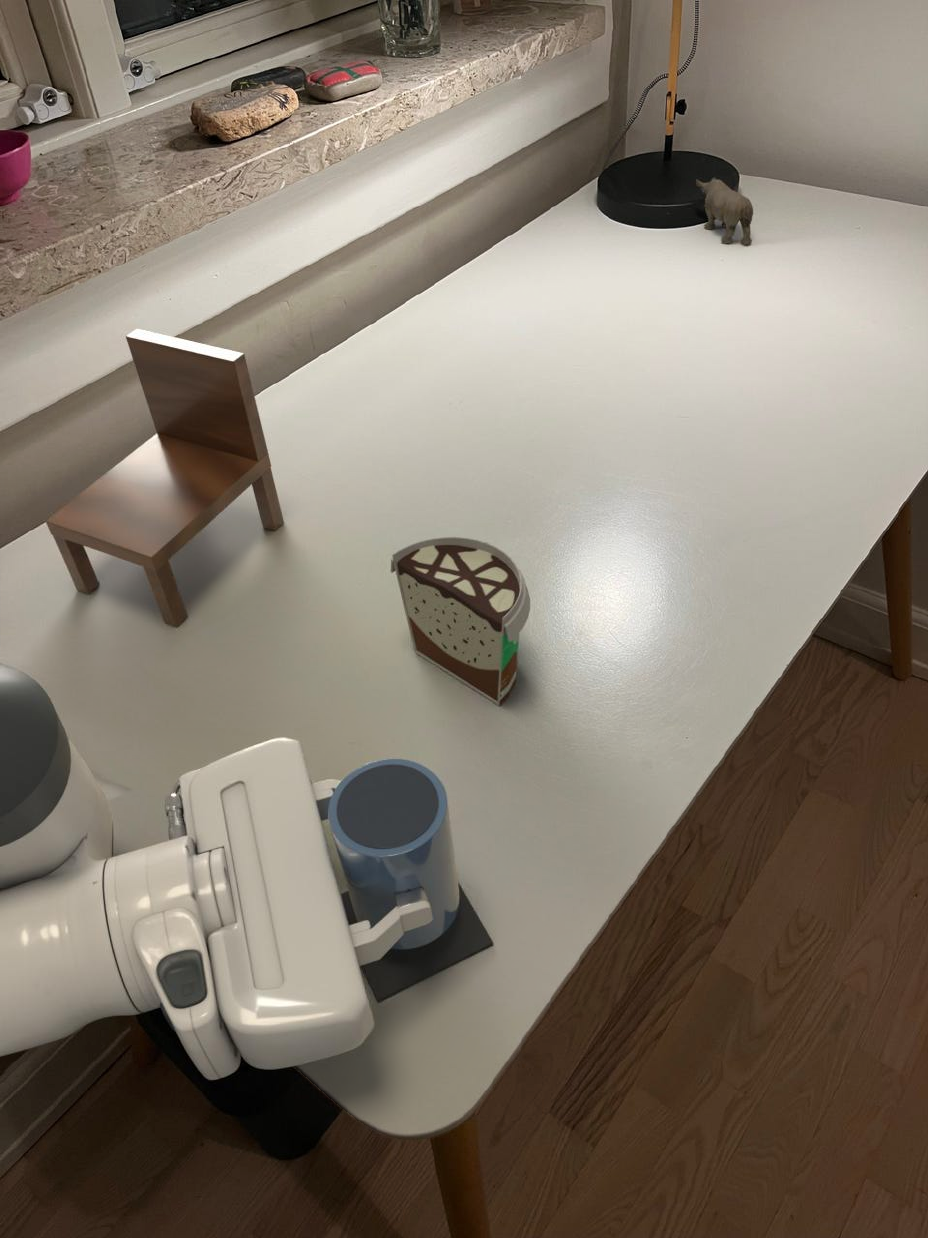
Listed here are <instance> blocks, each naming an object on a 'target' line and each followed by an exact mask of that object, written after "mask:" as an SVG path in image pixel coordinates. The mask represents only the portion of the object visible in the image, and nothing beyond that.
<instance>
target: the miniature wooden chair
mask: <svg viewBox="0 0 928 1238" xmlns="http://www.w3.org/2000/svg"><path fill="white" fill-rule="evenodd" d="M125 340H126V342H127V346H128V348H129V352H130V355H131V358H132V361H133V364H134V367H135V370H136V373H137V376H138V379H139V382H140V385H141V388H142V391H143V394H144V398H145V400H146V401H145V402H146V404H147V408H148V410H149V414H150V416H151V419H152V422H153V426H154V429H155V431H156V433H155V434H154V435H153V436H151V437H150V438H149V439H148V440H146V441H145V442H144V443H143V444H141V445H140V446H139V447H137V448H136V449H135V450H133V451H132V452H131V453H129V454H128V455H127V456H126V457H124V458H123V459H121V461H119V463H117V464H116V465H115V466H113V467H112V468H111V469H110V470H108V471H107V472H105V473H104V474H103V475H102V476H100V477H99V478H98V479H97V480H95V481H94V482H93V483H92V484H90V485H89V486H88V487H87V488H85V489H84V490H83V491H81V492H80V493H79V494H78V495H76V496H75V497H74V498H73V499H71V500H70V501H69V502H67V503H66V504H65V505H64V506H63V507H62V508H60V509H59V510H57V511H56V512H55V513H53V514H52V515H51V516H50V517H49V518H47V519H46V520H45V524H46V526H47V528H48V530H49V533H50V535H52V537H53V539H54V541H55V544H56V546H57V548H58V551H59V553H60V556H61V558H62V560H63V562H64V564H65V566H66V569H67V571H68V573H69V575H70V578H71V580H72V582H73V585H74V586H75V589H76V590H77V591H78V592H81V593H83V594H86V595H90V594H91V593H92V592H93V591H94V590H95V589H97V588H98V587H99V586H100V582H99V579H98V577H97V575H96V572H95V570H94V567H93V565H92V563H91V560H90V558H89V555H88V553H87V551H86V548H89V549H92V550H95V551H98V552H100V553H103V554H105V555H106V554H107V555H109V556H112V557H115V558H118V559H120V560H123V561H127V562H130V563H132V564H135V565H138V566H141V567H143V571H144V573H145V575H146V578H147V580H148V583H149V585H150V589H151V591H152V594H153V596H154V599H155V602H156V604H157V608H158V610H159V612H160V615H161V618H162V621H163V623H164V624H166V625H169V626H172V627H175V628H178V627H179V626H180V625H182V624H183V622H185V621H186V619H188V617H189V616H188V612H187V610H186V606H185V603H184V601H183V598H182V595H181V593H180V590H179V587H178V584H177V581H176V578H175V576H174V573H173V570H172V568H171V564H170V562H169V561H170V560H171V559H172V558H173V557H174V556H175V555H176V554H177V553H178V552H179V551H180V550H181V549H182V548H184V547H185V546H186V545H187V544H188V543H189V542H190V541H192V539H194V538H195V537H196V536H197V535H198V534H199V533H201V532H202V530H203V529H205V528H206V527H207V526H208V525H209V524H210V523H211V522H213V520H214V519H216V518H217V517H218V516H219V515H220V514H221V513H223V511H224V510H225V509H226V508H227V507H228V506H229V505H231V504H232V503H233V502H234V501H235V500H236V499H237V498H238V497H239V496H241V495H242V494H243V493H244V492H245V491H246V490H247V489H248V488H249V487H252V491H253V494H254V495H253V496H254V499H255V502H256V506H257V510H258V515H259V517H260V522H261V525H262V527H263V528H264V529H268V530H271V531H274V532H277V530H278V529H279V528H281V526H282V525H283V524H284V523H285V521H284V517H283V513H282V507H281V504H280V500H279V495H278V491H277V486H276V482H275V479H274V475H273V471H272V463H271V458H270V455H269V454H270V453H269V451H268V446H267V442H266V438H265V433H264V429H263V425H262V421H261V417H260V412H259V409H258V404H257V401H256V400H257V399H256V397H255V393H254V388H253V384H252V379H251V375H250V372H249V368H248V363H247V360H246V355H245V353H244V352H240V351H236V350H231V349H227V348H222V347H218V346H213V345H209V344H205V343H200V342H197V341H191V340H187V339H183V338H178V337H175V336H170V335H166V334H162V333H158V332H153V331H150V330H149V331H148V330H144V329H140V328H135V329H134V330H133V331H131V332H129V333H128V334H127V335H125ZM85 547H86V548H85Z"/></svg>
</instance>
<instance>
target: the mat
mask: <svg viewBox="0 0 928 1238" xmlns="http://www.w3.org/2000/svg"><path fill="white" fill-rule="evenodd" d="M458 886H459V893H460V902H459V908H458V911H457V914H456V916H455V919H454V920H453V922H452V924H451V925H450V926H449V928H448V929H447V930H446V931H445V932H444V933H443V934H442V935H441V936H439V937H438V938H437V939H435V940H434V941H432V942H430V943H428V944H426V945H423V946H420V947H417V948H412V949H392V948H390V949H389V950H388V951H387V952H386V954H385V955H384V956H383V957H382V958H381V959H380V960H377V961H374V962H371V963H367V964H364V965H361V966H360V968H361V970H362V971H363V973H364V975H365V977H366V980H367V982H368V984H369V987H370V989H371V990H372V992H373V995H374V998H375V999H376V1002H377V1003H380V1002H382V1001H384V1000H386V999H388V998H390V997H392V996H394V995H397V994H398V993H400V992H402V991H404V990H406V989H408V988H410V987H412V986H414V985H416V984H419V983H421V982H422V981H424V980H425V979H428V978H430V977H432V976H434V975H436V974H438V973H440V972H442V971H444V970H446V969H448V968H450V967H453V966H454V965H456V964H458V963H460V962H462V961H464V960H466V959H468V958H470V957H472V956H474V955H476V954H478V953H480V952H482V951H484V950H486V949H488V948H491V947H492V946H494V941H493V940H492V938H491V936H490V934H489V933H488V931H487V929H486V928H485V926H484V924H483V922H482V921H481V919H480V916H479V915H478V914H477V912H476V910H475V908H474V907H473V905H472V903H471V901H470V900H469V898H468V897H467V895H466V893H465V891H464V889H463V888H462V885H461V884H460V882H459V881H458ZM341 897H342V901H343V905H344V909H345V912H346V916H347V920H348V924H349V925H352V924H355V923H356V920H355V918H354V914H353V910H352V906H351V903H350V899H349V895H348V891H347V890H346V891H344V892H342V893H341Z"/></svg>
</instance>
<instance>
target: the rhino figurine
mask: <svg viewBox="0 0 928 1238" xmlns="http://www.w3.org/2000/svg"><path fill="white" fill-rule="evenodd" d="M695 184H696V186H697V187H699V188H700V189H701V190H702V192H703V193H705V194H706V198H705V205H704V207H705V209H704V210H705V214H706V216H707V219H708V220H707V221H708V222H706V223H705V224H704V226H703V228H704V229H706V230H714V229H715V227H716V223H715V222H716V221H715V220H718V221H719V222H722V223H721V225H720V226H721V227H722V228H726V230H725V234H724V235H723V236H722V237H721V238H720V243H722V244H727V245H728V244H732V242H733V236H734V235H735V232H736V229H737V228H736V227H737V225H738V224H739V223H740V226H741V229H742V234H743V235H742V238H741V239H740V241H739V242H740V244H741V245H744V246H749V245H751V244H752V239H751V224H752V221H753V216H754V207H753V205H752V202H751V200H750V198H748V197H747V196H745V195H743V194H741V193H739V192H737V191H736V190H733V189H731V187H729V186H728V184H726V183H725V182H724V181H722V180H721V179H717V178H716V177H712V178H711V179H710V181H708V182H702V181H700V180H699V179H698V178H696V179H695Z"/></svg>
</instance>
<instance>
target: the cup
mask: <svg viewBox="0 0 928 1238" xmlns="http://www.w3.org/2000/svg"><path fill="white" fill-rule="evenodd" d="M340 781H341V782H340V783H339V785H338V786H337V787H336V789H335V791H334V793H333V795H332V797H331V799H330V803H329V808H328V819H327V820H328V823H329V827H330V831H331V835H332V838H333V842H334V846H335V849H336V855H337V858H338V861H339V865H340V868H341V872H342V877H343V880H344V884H345V887H346V892H347V891H348V895H349V899H350V903H351V906H352V910H353V914H354V918H355V920H356V923H359V922H362V921H365V920H368V921H369V923H370V926H371V928H373V927H374V926H375V925H376V924H377V923H378V922H380V921H381V920H382V919H383V918H384V917H385V916H386V915H387V914H388V913H389V912H391V911H392V910H393V909H394V908H395V907H396V901H395V897H394V894H396V893H399V892H404V891H408V892H410V891H411V890H412V889H414V888H416V887H423V888H424V890H425V892H426V895H427V898H428V901H429V904H430V907H431V911H432V917H433V920H432V921H431V922H430V923H428V924H427V925H424V926H421V927H418V928H414V929H411V930H408V931H405V932H404V935H403V936H402V937H401V938H400V939H399V940H398V941H397V942H396V943H395V944H394V945H393V946H392V947H391V948H392V949H412V948H417V947H420V946H423V945H426V944H428V943H430V942H432V941H434V940H435V939H437V938H438V937H439V936H441V935H442V934H443V933H444V932H445V931H446V930H447V929H448V928H449V926H450V925H451V924H452V922H453V920H454V919H455V916H456V914H457V911H458V908H459V902H460V893H459V886H458V882H459V878H458V871H457V864H456V863H457V862H456V857H455V847H454V841H453V831H452V824H451V817H450V809H449V801H448V795H447V791H446V788H445V786H444V784H443V782H442V781H441V780H440V778H439V777H438V775H436V774H435V772H433V771H432V770H431V769H429V768H428V767H426V766H424V765H423V764H421V763H418V762H416V761H414V760H413V761H412V760H408V759H403V758H385V759H379V760H375V761H370V762H368V763H366V764H363V765H361V766H359V767H357V768H356V769H354V770H353V771H351V772H350V773H349V774H347V775H346V776H344V778H343V779H342V780H340Z"/></svg>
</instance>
